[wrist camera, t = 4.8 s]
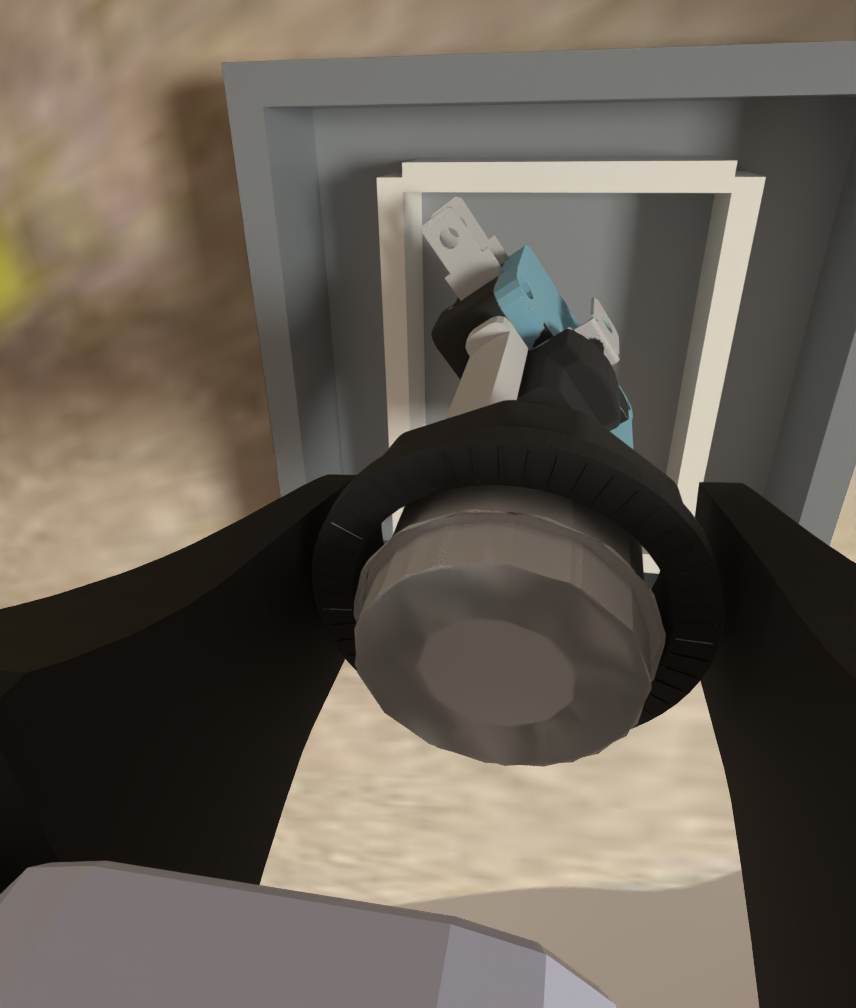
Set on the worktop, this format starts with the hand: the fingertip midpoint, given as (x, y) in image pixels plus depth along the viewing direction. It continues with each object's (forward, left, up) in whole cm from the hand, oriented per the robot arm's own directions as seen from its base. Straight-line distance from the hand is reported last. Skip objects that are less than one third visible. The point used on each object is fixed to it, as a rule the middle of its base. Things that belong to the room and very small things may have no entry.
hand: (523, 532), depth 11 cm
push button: (0, -2, -7) cm, 7 cm away
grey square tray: (0, 0, -9) cm, 9 cm away
